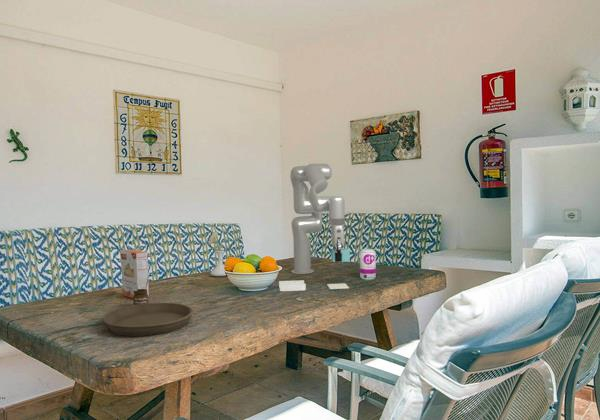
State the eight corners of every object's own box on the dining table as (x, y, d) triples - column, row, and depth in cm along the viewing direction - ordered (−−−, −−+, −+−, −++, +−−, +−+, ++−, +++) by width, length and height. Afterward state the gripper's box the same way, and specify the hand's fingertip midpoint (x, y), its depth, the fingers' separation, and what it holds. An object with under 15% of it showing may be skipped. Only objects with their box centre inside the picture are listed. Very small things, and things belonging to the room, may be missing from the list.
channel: (279, 287, 233) (279, 281, 233) (303, 286, 234) (303, 280, 234) (280, 291, 224) (279, 284, 224) (305, 290, 225) (305, 283, 225)
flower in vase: (220, 273, 274) (219, 229, 273) (235, 275, 268) (234, 230, 266) (203, 277, 264) (202, 231, 262) (218, 279, 257) (217, 232, 256)
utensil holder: (132, 306, 200) (131, 277, 199) (148, 304, 202) (147, 276, 202) (133, 309, 195) (133, 279, 194) (150, 307, 197) (149, 278, 196)
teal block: (331, 260, 234) (331, 249, 233) (347, 260, 234) (347, 248, 234) (333, 262, 229) (332, 250, 228) (349, 261, 229) (349, 249, 229)
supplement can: (376, 279, 247) (376, 250, 247) (360, 280, 248) (360, 251, 247) (374, 276, 256) (374, 248, 255) (359, 277, 256) (358, 248, 255)
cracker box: (121, 296, 219) (120, 250, 218) (134, 293, 224) (132, 249, 223) (137, 300, 210) (135, 252, 209) (149, 298, 214) (148, 251, 213)
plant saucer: (193, 334, 161) (193, 321, 160) (94, 342, 154) (93, 328, 154) (193, 311, 191) (193, 299, 191) (110, 317, 184) (110, 305, 184)
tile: (327, 285, 236) (327, 283, 236) (345, 284, 237) (345, 283, 237) (329, 289, 227) (329, 287, 227) (348, 288, 228) (348, 287, 228)
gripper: (347, 223, 222) (348, 262, 223) (341, 221, 239) (342, 257, 240) (331, 223, 222) (332, 263, 222) (326, 221, 239) (327, 258, 239)
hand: (337, 260), depth 231 cm, fingers closed on teal block, 5 cm apart
